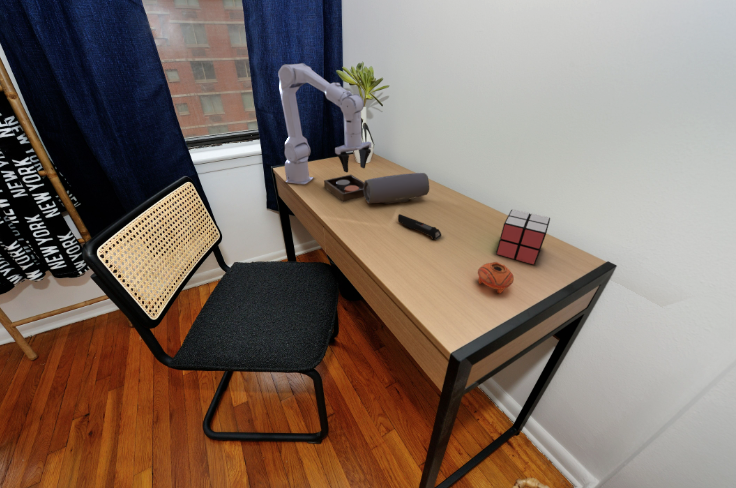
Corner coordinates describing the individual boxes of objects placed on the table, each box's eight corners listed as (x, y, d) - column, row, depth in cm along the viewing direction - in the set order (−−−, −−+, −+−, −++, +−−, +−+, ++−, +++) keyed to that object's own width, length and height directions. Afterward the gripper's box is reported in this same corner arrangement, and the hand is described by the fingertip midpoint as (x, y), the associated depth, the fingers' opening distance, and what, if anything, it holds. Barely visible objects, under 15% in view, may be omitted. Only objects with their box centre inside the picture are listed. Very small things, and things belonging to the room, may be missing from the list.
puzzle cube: (534, 265, 81) (546, 233, 76) (495, 254, 85) (503, 223, 80) (539, 248, 88) (550, 217, 83) (503, 238, 93) (511, 208, 87)
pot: (482, 269, 79) (494, 250, 75) (509, 289, 76) (523, 270, 71) (466, 282, 74) (478, 263, 70) (494, 304, 71) (508, 285, 66)
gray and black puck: (334, 189, 124) (334, 183, 123) (339, 184, 128) (339, 179, 127) (347, 191, 123) (346, 185, 121) (352, 186, 127) (351, 180, 126)
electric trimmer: (402, 220, 103) (402, 211, 101) (441, 236, 94) (443, 227, 92) (395, 224, 101) (395, 215, 99) (434, 241, 91) (435, 232, 90)
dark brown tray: (324, 188, 126) (323, 180, 125) (351, 182, 132) (351, 174, 130) (343, 202, 114) (342, 194, 113) (372, 195, 120) (372, 187, 118)
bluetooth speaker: (417, 192, 122) (420, 168, 116) (428, 202, 114) (431, 176, 109) (363, 200, 116) (362, 174, 111) (370, 210, 109) (370, 184, 103)
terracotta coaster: (342, 195, 119) (342, 189, 118) (348, 190, 123) (347, 184, 122) (356, 197, 117) (356, 191, 116) (360, 191, 122) (360, 186, 121)
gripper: (341, 137, 103) (343, 176, 111) (376, 131, 110) (376, 168, 118) (331, 133, 108) (333, 171, 116) (365, 128, 115) (365, 163, 123)
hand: (354, 169), depth 117 cm, fingers open, 7 cm apart
